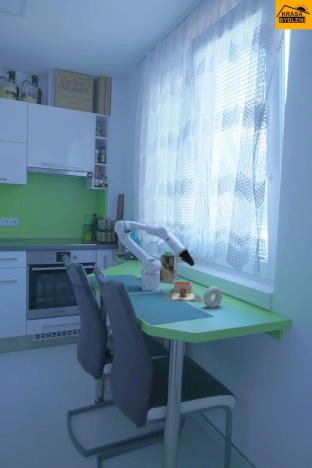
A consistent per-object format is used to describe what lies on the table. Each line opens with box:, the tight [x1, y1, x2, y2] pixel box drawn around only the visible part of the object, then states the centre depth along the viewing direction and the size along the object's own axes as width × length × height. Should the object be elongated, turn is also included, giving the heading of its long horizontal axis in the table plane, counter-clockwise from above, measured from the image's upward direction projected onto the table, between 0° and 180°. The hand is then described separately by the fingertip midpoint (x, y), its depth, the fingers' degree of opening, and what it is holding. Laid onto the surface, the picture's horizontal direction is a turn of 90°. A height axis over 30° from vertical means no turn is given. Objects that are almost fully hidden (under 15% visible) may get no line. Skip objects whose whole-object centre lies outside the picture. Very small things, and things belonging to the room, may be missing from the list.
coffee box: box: [159, 254, 178, 284], centre depth 205 cm, size 9×6×16 cm
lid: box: [171, 287, 195, 302], centre depth 166 cm, size 11×11×5 cm
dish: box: [173, 280, 192, 294], centre depth 179 cm, size 9×9×5 cm
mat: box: [163, 293, 203, 303], centre depth 166 cm, size 18×13×1 cm
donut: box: [202, 285, 224, 309], centre depth 152 cm, size 10×4×10 cm, turn 117°
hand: (192, 264), depth 173 cm, fingers open, 7 cm apart
